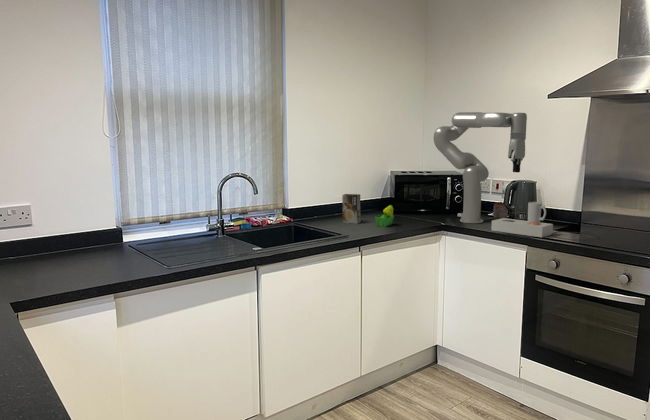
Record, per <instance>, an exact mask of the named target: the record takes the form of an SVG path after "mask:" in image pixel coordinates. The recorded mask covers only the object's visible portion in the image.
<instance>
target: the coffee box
mask: <svg viewBox="0 0 650 420" xmlns="http://www.w3.org/2000/svg"><path fill="white" fill-rule="evenodd" d="M341 199H342V203H341V204H342V223H343V224H352V225H353V224H354V225H355V224H356V225H357V224H360V223H361V194H360V193H358V194H357V193H344V194H342V198H341Z"/></svg>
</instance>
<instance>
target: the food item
mask: <svg viewBox="0 0 650 420" xmlns="http://www.w3.org/2000/svg"><path fill="white" fill-rule="evenodd" d="M504 203H505V202H502V201H499V202H495V203H494V204H493V209H492V211H493V213H492V214H493V215H492V216H493V219H495V220H497V219H501V218H507V219H508V213H509V208H508V209H507V208H506V207H505V206H504Z"/></svg>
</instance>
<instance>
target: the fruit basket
mask: <svg viewBox="0 0 650 420" xmlns="http://www.w3.org/2000/svg"><path fill="white" fill-rule="evenodd" d="M382 212H383V214H380V215H376V216H375V217H374V220H375V223H376V226H377V227H383V228H384V227H385V228H386V227H388V226H391V225H392V223H393V221H394V220H393V219H394V218H395V215H393V214H394V207H393V205H392V204H389V205H388V206H386V207H385V208H384V209H382Z"/></svg>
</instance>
